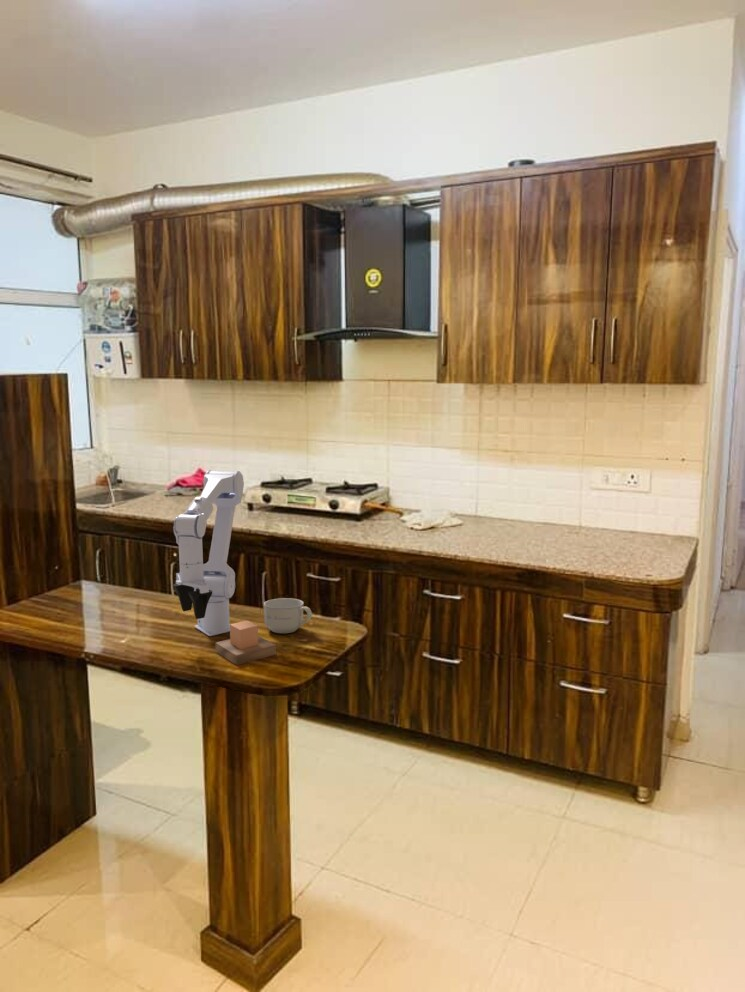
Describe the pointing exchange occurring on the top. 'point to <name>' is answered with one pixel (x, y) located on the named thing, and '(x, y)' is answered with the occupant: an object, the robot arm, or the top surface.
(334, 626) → the top surface
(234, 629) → the terracotta block
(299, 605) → the teacup
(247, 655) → the walnut slab
